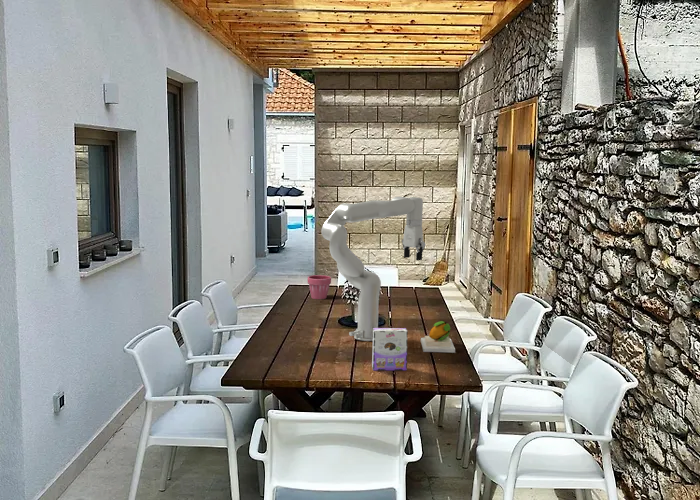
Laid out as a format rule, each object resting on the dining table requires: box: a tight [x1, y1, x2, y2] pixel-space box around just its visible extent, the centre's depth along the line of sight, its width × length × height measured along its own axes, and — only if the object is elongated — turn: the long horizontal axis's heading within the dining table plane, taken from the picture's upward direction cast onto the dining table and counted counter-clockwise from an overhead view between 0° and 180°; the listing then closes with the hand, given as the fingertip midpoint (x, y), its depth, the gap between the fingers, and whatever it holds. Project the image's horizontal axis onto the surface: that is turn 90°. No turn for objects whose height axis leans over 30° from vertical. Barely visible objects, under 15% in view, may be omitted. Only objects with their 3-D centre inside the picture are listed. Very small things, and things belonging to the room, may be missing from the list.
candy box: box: [371, 327, 409, 371], centre depth 305 cm, size 14×6×16 cm, turn 92°
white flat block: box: [420, 335, 456, 354], centre depth 344 cm, size 20×14×4 cm
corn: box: [428, 320, 451, 341], centre depth 343 cm, size 7×8×20 cm
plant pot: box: [307, 274, 332, 300], centre depth 456 cm, size 14×14×13 cm
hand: (412, 258), depth 362 cm, fingers open, 9 cm apart
